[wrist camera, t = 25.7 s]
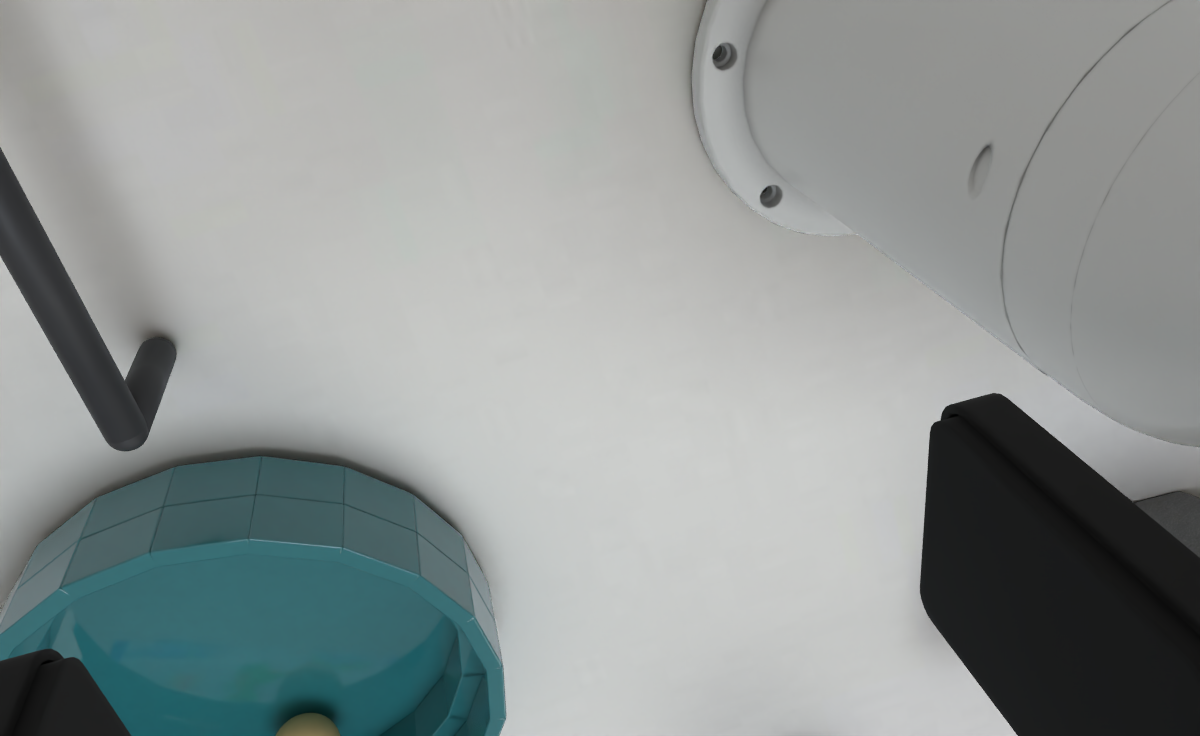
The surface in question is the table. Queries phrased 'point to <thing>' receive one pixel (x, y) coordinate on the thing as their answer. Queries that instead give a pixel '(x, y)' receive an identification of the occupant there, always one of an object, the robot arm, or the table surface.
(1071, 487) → the robot arm
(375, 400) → the table surface
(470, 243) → the table surface
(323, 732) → the tan ball
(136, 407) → the ladle
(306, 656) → the bowl
